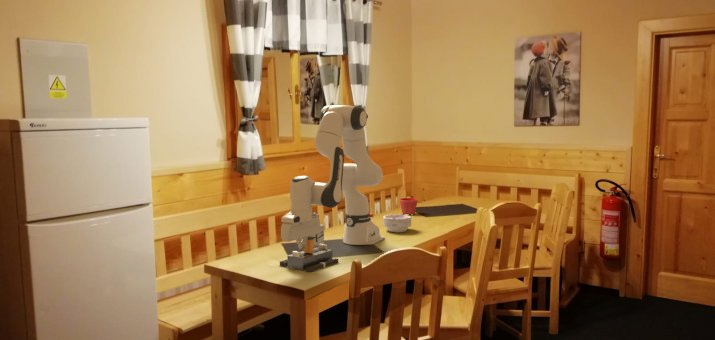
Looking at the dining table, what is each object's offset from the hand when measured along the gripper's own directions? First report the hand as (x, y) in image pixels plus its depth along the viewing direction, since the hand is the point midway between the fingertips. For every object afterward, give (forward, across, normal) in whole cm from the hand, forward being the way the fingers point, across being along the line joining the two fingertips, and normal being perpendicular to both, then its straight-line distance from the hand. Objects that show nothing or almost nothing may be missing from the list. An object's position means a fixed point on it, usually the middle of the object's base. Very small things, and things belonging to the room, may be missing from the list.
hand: (302, 248), depth 227 cm
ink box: (+8, -24, -15) cm, 29 cm away
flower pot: (+8, -124, -29) cm, 127 cm away
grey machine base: (+8, -5, 0) cm, 9 cm away
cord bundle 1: (+8, -5, -7) cm, 12 cm away
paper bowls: (+8, -81, -8) cm, 81 cm away
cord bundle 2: (+8, -5, +7) cm, 12 cm away
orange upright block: (+2, -4, 0) cm, 4 cm away
